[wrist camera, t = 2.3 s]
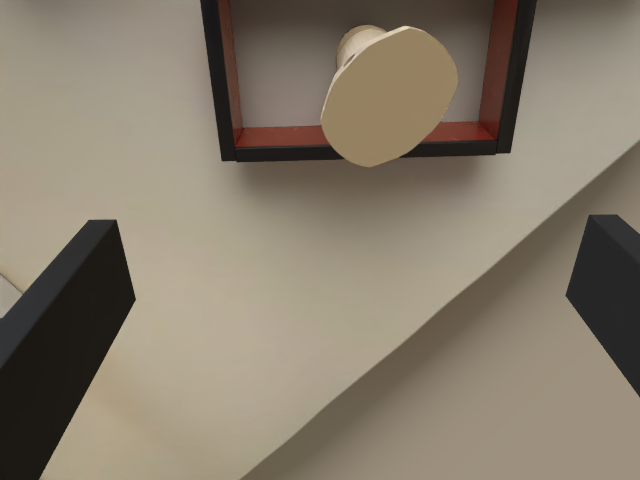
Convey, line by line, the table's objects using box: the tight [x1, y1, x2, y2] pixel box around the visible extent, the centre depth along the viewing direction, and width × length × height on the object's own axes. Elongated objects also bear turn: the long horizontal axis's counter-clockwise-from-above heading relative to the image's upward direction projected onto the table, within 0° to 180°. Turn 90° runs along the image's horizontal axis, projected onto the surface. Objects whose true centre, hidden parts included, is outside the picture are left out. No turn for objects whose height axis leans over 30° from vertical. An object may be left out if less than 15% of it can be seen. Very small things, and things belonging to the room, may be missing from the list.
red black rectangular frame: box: [200, 0, 537, 162], centre depth 33 cm, size 13×20×5 cm, turn 91°
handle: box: [321, 24, 459, 168], centre depth 28 cm, size 5×6×15 cm
